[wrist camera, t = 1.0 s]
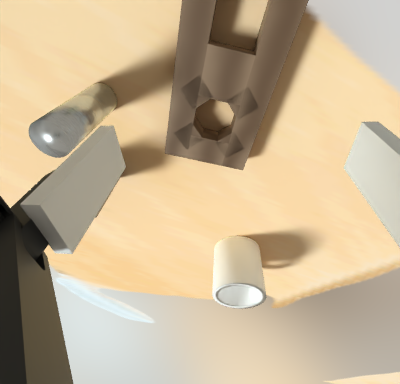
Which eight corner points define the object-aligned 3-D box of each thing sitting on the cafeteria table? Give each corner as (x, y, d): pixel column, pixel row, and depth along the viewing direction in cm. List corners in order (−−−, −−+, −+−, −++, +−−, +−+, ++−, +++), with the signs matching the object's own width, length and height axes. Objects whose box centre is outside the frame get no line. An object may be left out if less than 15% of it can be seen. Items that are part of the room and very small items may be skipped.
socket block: (168, 143, 37) (164, 153, 34) (196, -85, 21) (192, -95, 19) (241, 159, 37) (242, 170, 35) (319, -50, 22) (330, -56, 20)
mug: (276, 260, 54) (285, 307, 46) (240, 274, 59) (242, 318, 50) (242, 229, 48) (245, 276, 40) (205, 247, 53) (201, 292, 45)
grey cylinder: (90, 108, 34) (34, 153, 24) (87, 79, 32) (23, 116, 22) (117, 114, 34) (73, 161, 24) (116, 86, 32) (66, 125, 22)
